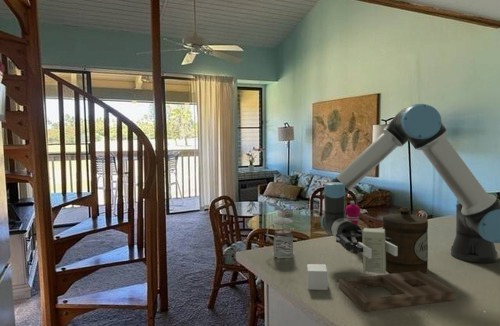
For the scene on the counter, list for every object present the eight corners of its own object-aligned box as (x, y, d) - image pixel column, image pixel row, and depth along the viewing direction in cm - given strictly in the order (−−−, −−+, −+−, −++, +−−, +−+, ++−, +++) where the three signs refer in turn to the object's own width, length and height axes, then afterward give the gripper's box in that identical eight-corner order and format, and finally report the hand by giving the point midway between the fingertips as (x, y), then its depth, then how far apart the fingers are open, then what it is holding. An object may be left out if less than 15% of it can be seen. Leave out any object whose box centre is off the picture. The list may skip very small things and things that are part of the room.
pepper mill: (343, 248, 148) (342, 202, 147) (345, 244, 155) (344, 199, 154) (361, 250, 146) (360, 202, 144) (362, 245, 152) (362, 199, 151)
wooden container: (430, 278, 115) (430, 212, 114) (382, 273, 121) (381, 210, 119) (425, 263, 129) (425, 204, 128) (382, 259, 134) (381, 202, 133)
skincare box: (386, 269, 105) (386, 229, 104) (385, 274, 101) (385, 232, 100) (363, 266, 107) (363, 227, 106) (362, 271, 103) (362, 230, 102)
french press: (294, 259, 138) (293, 196, 136) (265, 258, 140) (263, 196, 138) (296, 251, 147) (295, 192, 146) (269, 250, 150) (267, 192, 148)
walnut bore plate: (418, 278, 116) (418, 270, 116) (454, 299, 100) (455, 291, 100) (338, 287, 111) (338, 279, 111) (364, 311, 95) (364, 302, 95)
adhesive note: (327, 290, 109) (327, 271, 109) (308, 289, 110) (307, 271, 110) (325, 282, 115) (325, 264, 115) (307, 281, 116) (307, 264, 116)
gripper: (373, 240, 123) (415, 262, 101) (319, 244, 120) (350, 268, 97) (373, 219, 123) (415, 236, 100) (318, 222, 119) (350, 242, 97)
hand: (383, 252), depth 99 cm, fingers closed on skincare box, 7 cm apart
